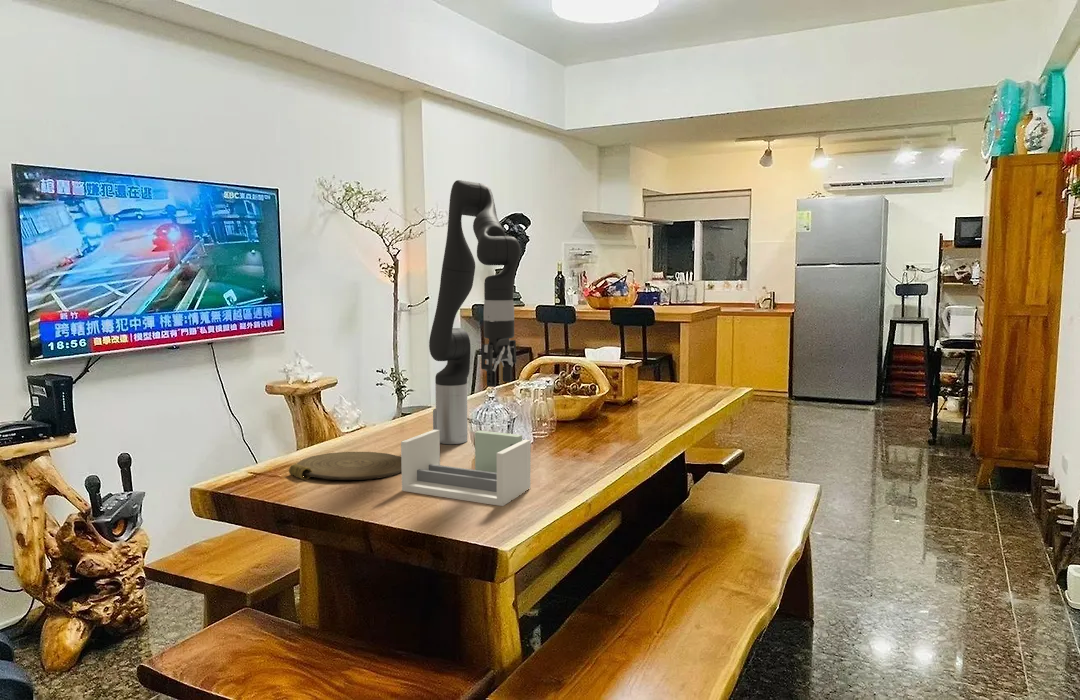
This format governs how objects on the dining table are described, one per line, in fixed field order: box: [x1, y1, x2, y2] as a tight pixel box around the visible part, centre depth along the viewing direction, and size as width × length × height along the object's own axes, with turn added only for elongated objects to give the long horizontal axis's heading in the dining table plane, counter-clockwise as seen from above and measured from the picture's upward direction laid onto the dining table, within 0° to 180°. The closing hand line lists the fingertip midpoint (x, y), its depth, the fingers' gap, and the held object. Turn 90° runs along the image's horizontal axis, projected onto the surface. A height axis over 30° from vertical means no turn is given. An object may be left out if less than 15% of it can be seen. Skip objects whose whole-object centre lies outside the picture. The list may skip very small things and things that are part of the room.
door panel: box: [474, 430, 523, 473], centre depth 186 cm, size 12×3×10 cm, turn 66°
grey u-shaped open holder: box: [400, 429, 532, 507], centre depth 171 cm, size 26×14×12 cm, turn 66°
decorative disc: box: [288, 451, 402, 481], centre depth 190 cm, size 29×3×30 cm
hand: (499, 384), depth 184 cm, fingers open, 8 cm apart
